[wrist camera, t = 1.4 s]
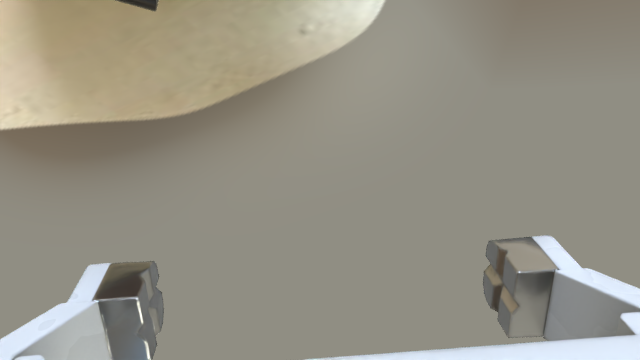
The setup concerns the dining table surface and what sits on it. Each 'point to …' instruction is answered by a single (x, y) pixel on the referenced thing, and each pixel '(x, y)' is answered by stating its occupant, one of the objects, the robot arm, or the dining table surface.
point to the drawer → (142, 3)
